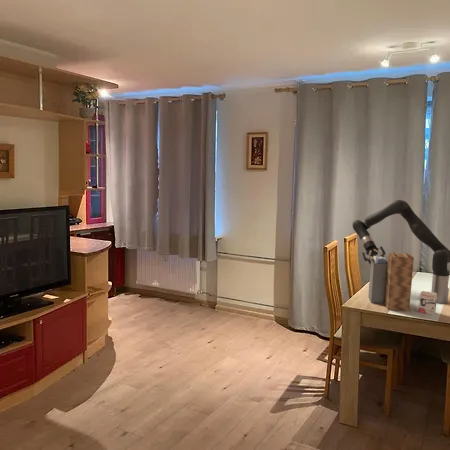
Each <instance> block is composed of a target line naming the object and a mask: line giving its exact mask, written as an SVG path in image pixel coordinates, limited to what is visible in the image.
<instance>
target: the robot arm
mask: <svg viewBox="0 0 450 450" xmlns="http://www.w3.org/2000/svg"><path fill="white" fill-rule="evenodd" d="M396 214H397V215H400V216H401V217H402V218H403V219H404V220H405V221H406V222H407V225H408V227H409V229H410V232H412V233H413V235H414V236H415V237H416V239H418V240H419V241H420V242H421V243H423V244H424V245H426V246H427V247H428V248H430V249H431V250H432V251H433V252H434V253H433V254H432V259H431V260H432V264H431V268H432V280H431V281H432V282H431V291H430V292H433V293H437V302H436V304H448V303H449V302H448V301H449V291H450V288H449V278H450V271H449V270H448V264H449V263H450V249H449V248H448V247H446V246H445V245H444V244H443V243H442V242H441V241H440V240H439V239H438V237H437V236H436V235H435V234H434V233H433V232H432V230H431V229H430V228H429V227H428V225H427V224H425V223H424V221H422V219H421V218H420V217H419V216H418V215H417V214H416V213H415V212H414V210H413V209H412V207H411V206H410V204H409V203H408V202H407V201H405V200H403V199H396V200H394V201H392V202H391V203H390V204H388V205H387V206H385V207H384V208H382V209H380V210H379V211H377V212H374V213H372V214H370V215H368V216H366V217H365V218H364V221H361V220H359V219H356V220H354V221H353V222H352V229H353V230H354V232H355V233H356V235H358V237H359V240H360V242H361V244H362V247H363V249H364V250H365V252H364V251H363V252H362V253H361V254H362V258H363V261H364V262H368V264H369V266H371V258H372V257H373V258H374V256H378V257H385V255H386V251H385V249H384V247H383V246H379V247H377V244H376V243H375V241H374V240H373V238H372V236H371V234H370V233H369V231H368V230H369V229H370V228H371V227H372V226H375V225H377V224H379V223H381V222H383V220H385V219H386V218H388V217H390V216H393V215H396ZM366 256H367V257H366Z"/></svg>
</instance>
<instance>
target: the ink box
mask: <svg viewBox="0 0 450 450" xmlns="http://www.w3.org/2000/svg"><path fill="white" fill-rule="evenodd" d="M436 302H437V293H433V292H431V291H425V290H422V291H420V293H419V303H418V304H419V305H418V313H422V314H423V313H424V314H429V315H433V316H434V315H436V309H437V303H436Z"/></svg>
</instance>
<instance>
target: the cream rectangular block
mask: <svg viewBox="0 0 450 450" xmlns="http://www.w3.org/2000/svg"><path fill="white" fill-rule="evenodd" d="M373 259H374V260H375V263H378V264H386V260H387V259H386V257H385V256H384V257H381V256H379V255H376V256H373Z"/></svg>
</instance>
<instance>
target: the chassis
mask: <svg viewBox="0 0 450 450" xmlns="http://www.w3.org/2000/svg"><path fill="white" fill-rule="evenodd" d="M370 260H371V265H370V270H369V283H368V296H367V297H368V299H369V301H370V303H371V304H380V305H385V296H386V282H387V269H388V259H386V264H378V263H375V260H374V258H372V259H371V258H370Z"/></svg>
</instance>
